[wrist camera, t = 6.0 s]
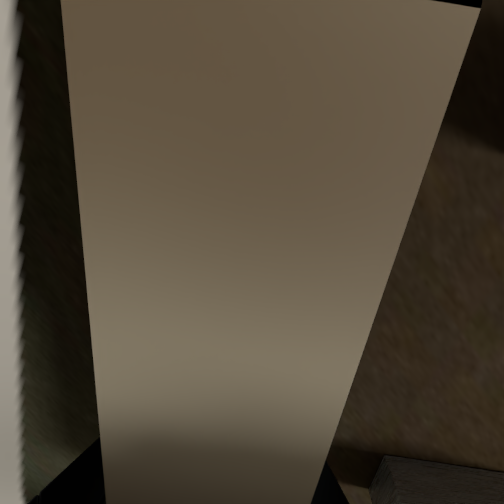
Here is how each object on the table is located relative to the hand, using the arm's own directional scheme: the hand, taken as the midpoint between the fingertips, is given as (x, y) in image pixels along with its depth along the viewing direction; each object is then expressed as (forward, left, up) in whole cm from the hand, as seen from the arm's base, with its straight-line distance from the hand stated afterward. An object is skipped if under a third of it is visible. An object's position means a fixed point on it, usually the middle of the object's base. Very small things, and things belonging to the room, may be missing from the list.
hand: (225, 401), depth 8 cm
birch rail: (0, 0, 0) cm, 1 cm away
